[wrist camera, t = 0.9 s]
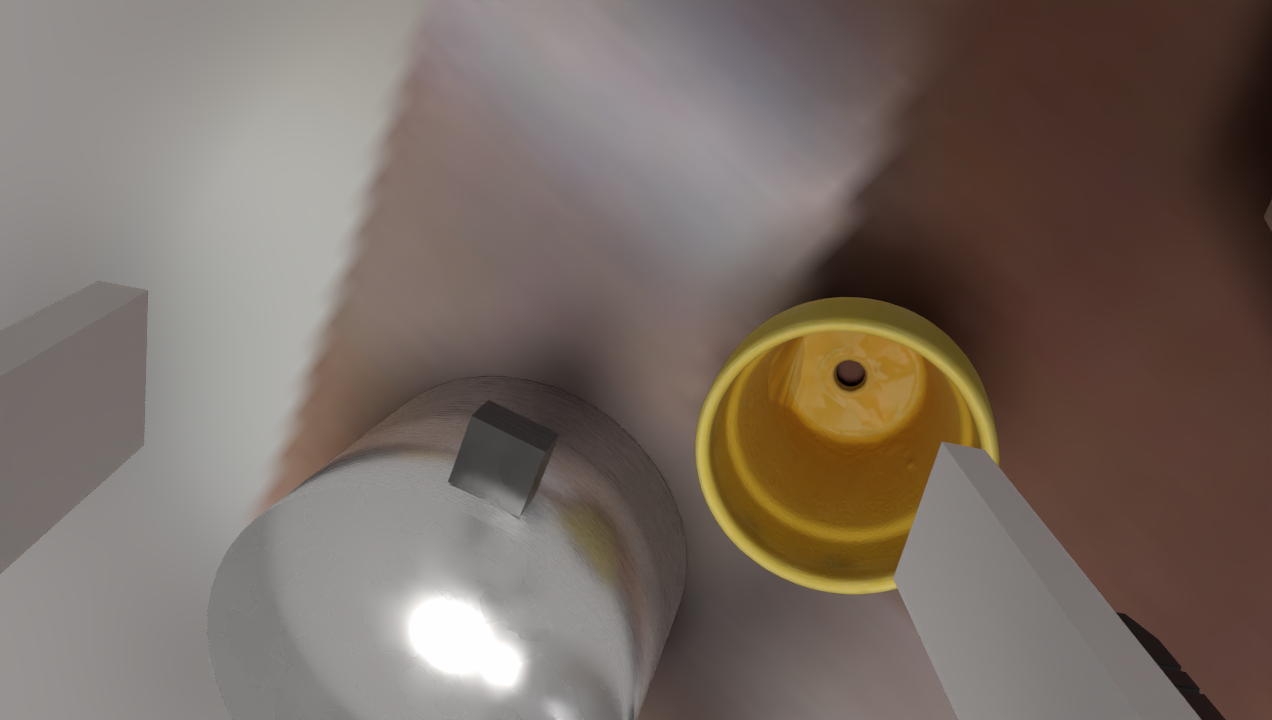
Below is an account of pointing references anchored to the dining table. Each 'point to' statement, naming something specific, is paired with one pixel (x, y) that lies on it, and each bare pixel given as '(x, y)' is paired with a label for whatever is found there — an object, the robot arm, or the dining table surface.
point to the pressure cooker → (457, 570)
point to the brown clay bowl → (1269, 216)
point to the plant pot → (835, 438)
